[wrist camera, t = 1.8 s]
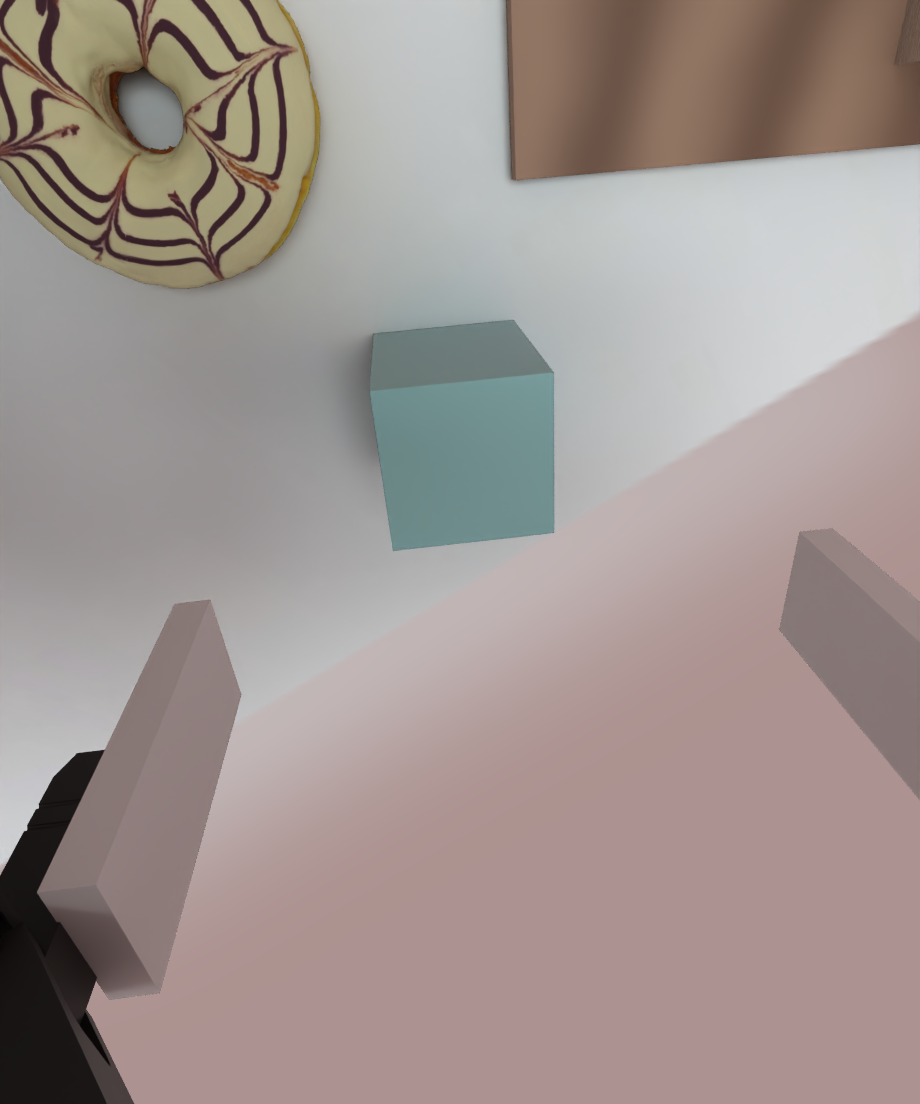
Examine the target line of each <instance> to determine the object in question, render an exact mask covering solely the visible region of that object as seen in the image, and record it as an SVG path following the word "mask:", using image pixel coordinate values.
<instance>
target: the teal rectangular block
mask: <svg viewBox="0 0 920 1104" xmlns="http://www.w3.org/2000/svg"><path fill="white" fill-rule="evenodd" d="M370 398H371V405H372V412H373V419H374V425H375V432H376V439H377V446H378V453H379V459H380V466H381V473H382V480H383V487H384V493H385V500H386V507H387V514H388V521H389V527H390V534H391V541H392V548H393V551H397V550H406V549H415V548H424V547H432V546H441V545H450V544H459V543H468V542H477V541H486V540H495V539H504V538H513V537H522V536H531V535H540V534H548V533H554V372H553V371H552V369H551V368H550V367H549V366H548V364H547V363H546V362H545V360H544V359H543V358H542V356H541V355H540V354H539V353H538V351H537V350H536V349H535V347H534V346H533V345H532V343H531V342H530V341H529V339H528V338H527V337H526V336H525V334H524V333H523V332H522V330H521V329H520V328H519V326H518V325H517V324H516V322H515V321H514V320H508V321H498V322H488V323H478V324H467V325H457V326H447V327H437V328H427V329H417V330H406V331H396V332H386V333H376V334H374V336H373V349H372V363H371V377H370Z"/></svg>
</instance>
